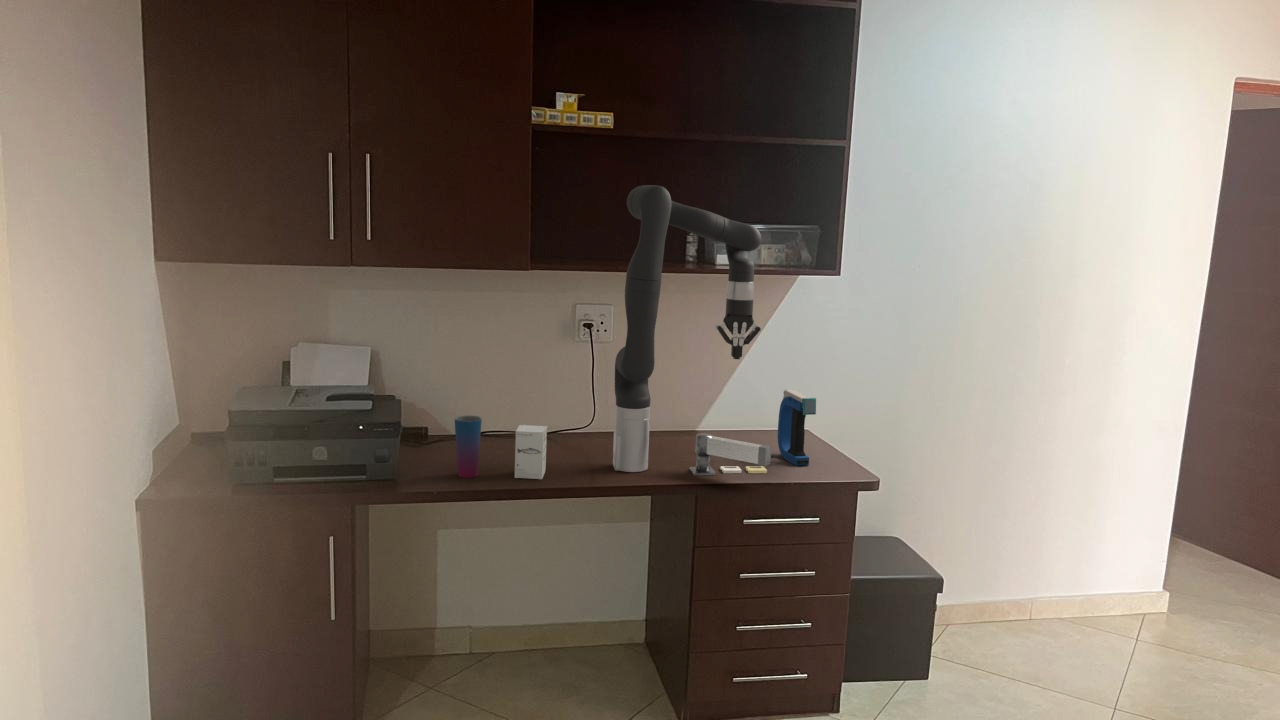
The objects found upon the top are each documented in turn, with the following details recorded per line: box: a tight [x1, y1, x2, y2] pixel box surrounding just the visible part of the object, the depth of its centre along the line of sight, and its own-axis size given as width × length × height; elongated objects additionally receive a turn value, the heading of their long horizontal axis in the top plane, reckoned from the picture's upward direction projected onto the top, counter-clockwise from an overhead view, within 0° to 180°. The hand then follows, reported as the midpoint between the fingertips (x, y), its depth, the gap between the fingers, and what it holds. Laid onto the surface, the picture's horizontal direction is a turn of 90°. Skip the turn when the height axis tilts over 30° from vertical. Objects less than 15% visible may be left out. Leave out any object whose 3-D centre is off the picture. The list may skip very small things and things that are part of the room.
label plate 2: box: [745, 465, 768, 474], centre depth 254 cm, size 5×4×1 cm
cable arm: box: [694, 432, 772, 467], centre depth 245 cm, size 21×4×5 cm, turn 57°
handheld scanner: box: [777, 389, 817, 467], centre depth 265 cm, size 5×16×20 cm, turn 15°
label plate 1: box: [720, 465, 743, 474], centre depth 253 cm, size 5×4×1 cm
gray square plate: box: [689, 453, 717, 476], centre depth 251 cm, size 6×6×5 cm
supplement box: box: [514, 424, 548, 480], centre depth 241 cm, size 7×7×13 cm
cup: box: [454, 414, 483, 479], centre depth 239 cm, size 7×7×15 cm
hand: (736, 358), depth 263 cm, fingers closed
